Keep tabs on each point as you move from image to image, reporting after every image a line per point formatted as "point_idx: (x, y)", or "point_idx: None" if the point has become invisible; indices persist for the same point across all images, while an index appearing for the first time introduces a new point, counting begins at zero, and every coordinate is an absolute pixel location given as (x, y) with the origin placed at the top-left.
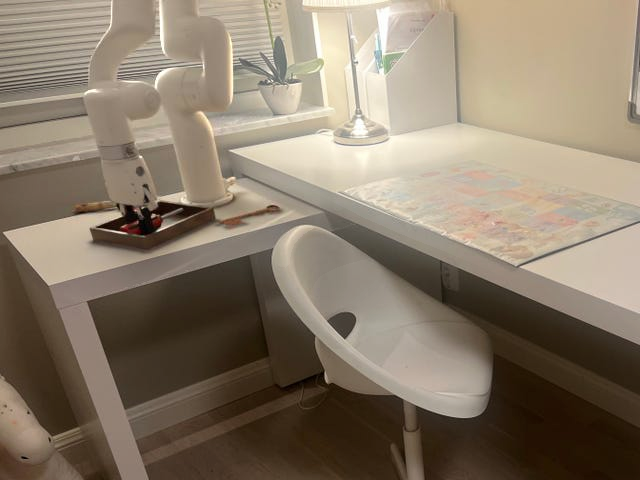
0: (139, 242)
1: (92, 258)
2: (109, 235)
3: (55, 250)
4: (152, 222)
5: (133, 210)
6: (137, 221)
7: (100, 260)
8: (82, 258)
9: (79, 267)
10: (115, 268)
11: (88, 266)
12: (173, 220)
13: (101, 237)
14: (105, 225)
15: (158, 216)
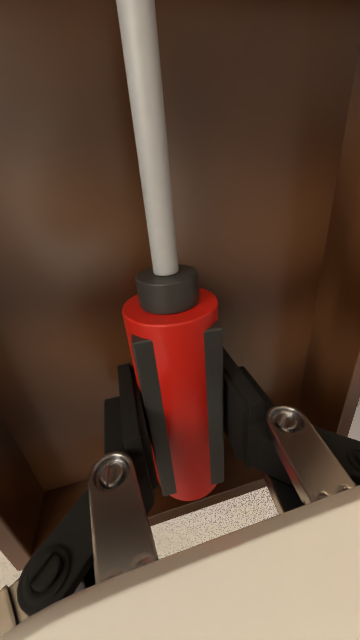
0: None
1: (186, 516)
2: None
3: (11, 575)
4: (242, 372)
5: (135, 478)
6: (198, 440)
7: (219, 506)
8: (160, 531)
9: (209, 539)
10: None
11: (224, 527)
12: (112, 116)
13: None
14: (11, 510)
15: (188, 293)
